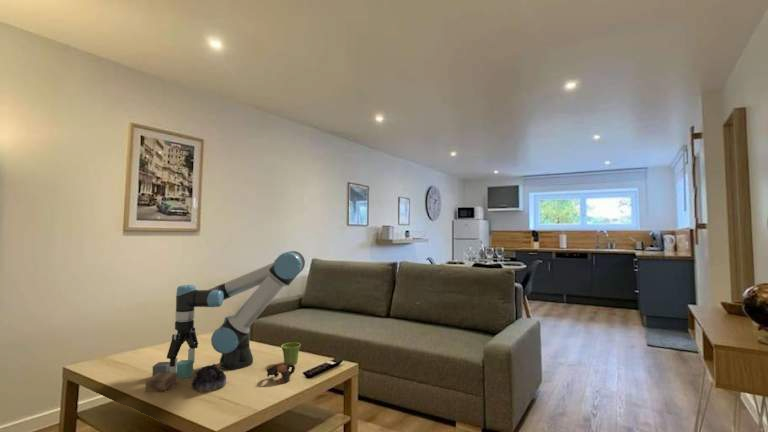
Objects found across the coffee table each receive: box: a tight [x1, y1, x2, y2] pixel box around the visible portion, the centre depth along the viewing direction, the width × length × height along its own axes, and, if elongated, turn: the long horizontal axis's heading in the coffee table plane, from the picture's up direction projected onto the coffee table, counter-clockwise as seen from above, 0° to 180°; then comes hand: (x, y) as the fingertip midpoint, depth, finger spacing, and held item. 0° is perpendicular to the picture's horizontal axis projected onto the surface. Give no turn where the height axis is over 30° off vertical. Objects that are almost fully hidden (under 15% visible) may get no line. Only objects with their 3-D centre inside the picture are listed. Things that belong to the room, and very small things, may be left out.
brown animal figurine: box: [266, 362, 296, 385], centre depth 166 cm, size 12×10×8 cm
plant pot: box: [280, 342, 302, 365], centre depth 187 cm, size 9×9×9 cm
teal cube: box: [176, 359, 194, 379], centre depth 170 cm, size 6×6×6 cm
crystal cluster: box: [191, 363, 227, 393], centre depth 159 cm, size 14×14×10 cm
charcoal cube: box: [151, 361, 170, 377], centre depth 168 cm, size 6×6×6 cm
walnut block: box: [144, 373, 177, 393], centre depth 156 cm, size 8×8×5 cm
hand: (182, 368), depth 170 cm, fingers open, 13 cm apart
